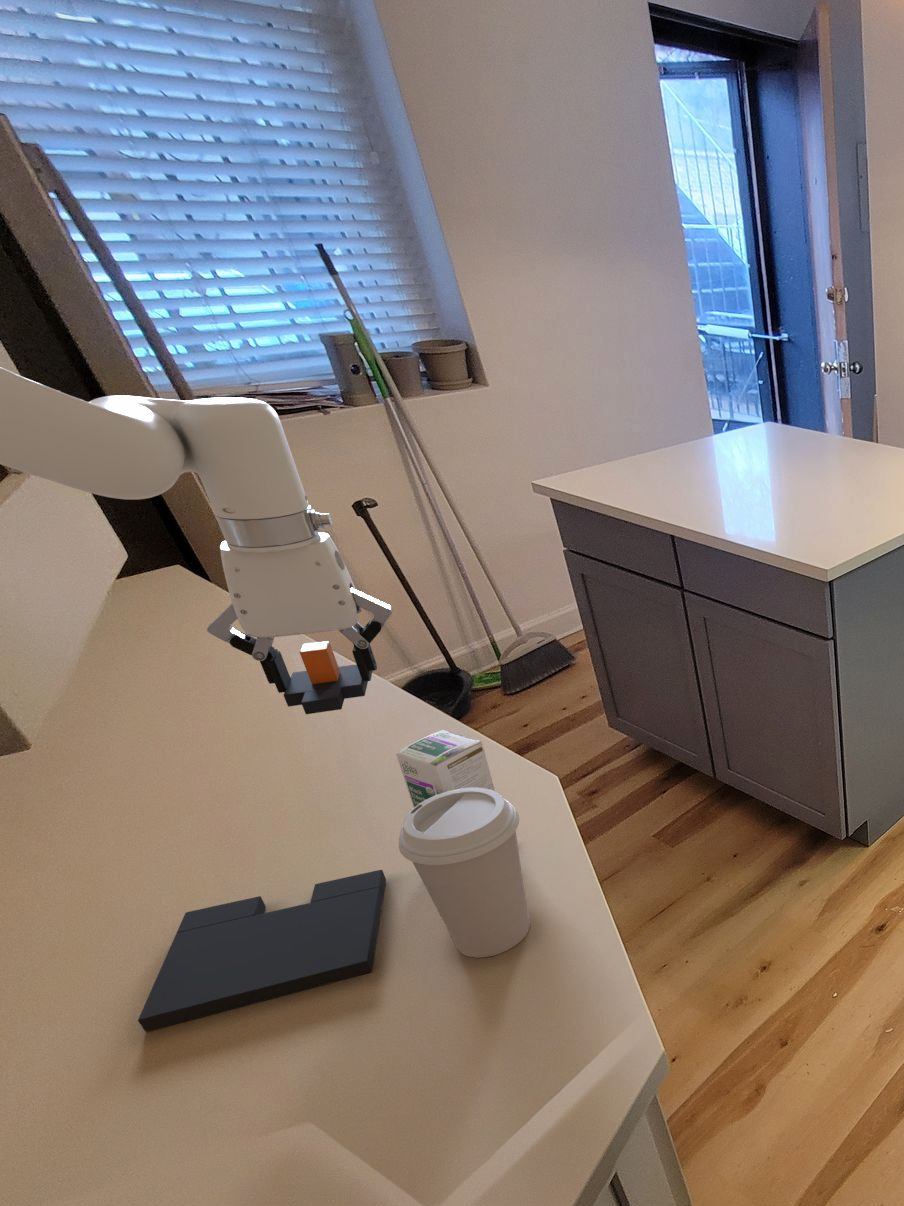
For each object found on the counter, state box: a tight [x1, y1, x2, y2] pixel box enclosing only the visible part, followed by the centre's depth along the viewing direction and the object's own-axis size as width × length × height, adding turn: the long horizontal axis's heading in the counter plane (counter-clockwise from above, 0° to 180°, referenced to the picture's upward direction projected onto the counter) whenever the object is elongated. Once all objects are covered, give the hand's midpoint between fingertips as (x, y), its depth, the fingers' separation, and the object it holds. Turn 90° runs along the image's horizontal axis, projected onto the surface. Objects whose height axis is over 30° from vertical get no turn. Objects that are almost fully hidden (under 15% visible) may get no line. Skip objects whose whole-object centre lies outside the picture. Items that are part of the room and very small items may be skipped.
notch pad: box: [137, 869, 387, 1033], centre depth 75 cm, size 16×14×2 cm
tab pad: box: [283, 640, 369, 715], centre depth 88 cm, size 7×9×6 cm
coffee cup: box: [398, 788, 531, 959], centre depth 75 cm, size 10×10×15 cm
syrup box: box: [395, 729, 496, 808], centre depth 84 cm, size 6×6×14 cm
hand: (327, 680), depth 89 cm, fingers closed on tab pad, 7 cm apart
